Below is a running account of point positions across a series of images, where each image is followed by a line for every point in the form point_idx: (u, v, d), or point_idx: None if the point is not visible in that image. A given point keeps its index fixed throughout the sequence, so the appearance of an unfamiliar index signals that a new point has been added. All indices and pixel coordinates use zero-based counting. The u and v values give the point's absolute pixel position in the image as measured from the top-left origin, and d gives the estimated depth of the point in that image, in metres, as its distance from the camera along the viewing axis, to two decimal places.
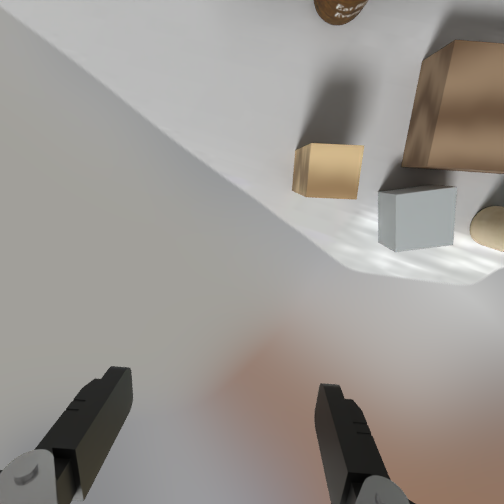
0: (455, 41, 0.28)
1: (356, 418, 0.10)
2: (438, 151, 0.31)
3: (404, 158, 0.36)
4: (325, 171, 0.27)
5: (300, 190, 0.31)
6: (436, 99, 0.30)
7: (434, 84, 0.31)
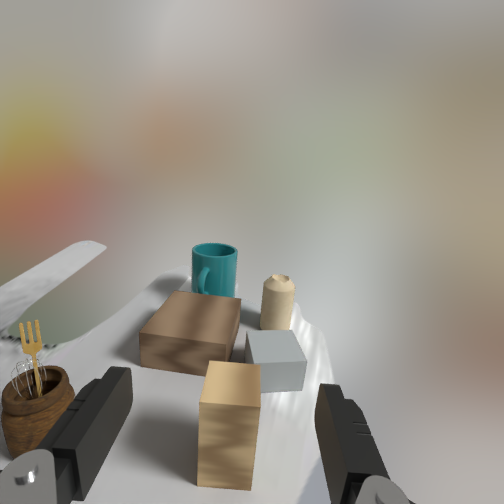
0: (140, 332, 0.38)
1: (356, 418, 0.10)
2: (216, 338, 0.38)
3: None
4: (231, 388, 0.25)
5: (252, 438, 0.24)
6: (175, 343, 0.38)
7: (163, 347, 0.39)
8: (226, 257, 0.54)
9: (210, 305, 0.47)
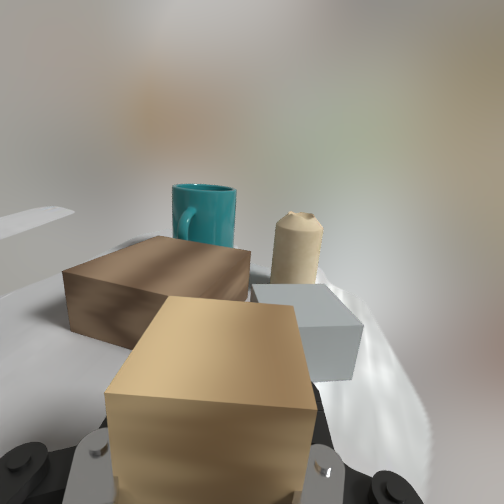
0: (64, 271, 0.23)
1: None
2: (181, 291, 0.21)
3: None
4: (220, 355, 0.08)
5: None
6: (114, 294, 0.22)
7: (98, 301, 0.23)
8: (220, 193, 0.37)
9: (199, 253, 0.30)
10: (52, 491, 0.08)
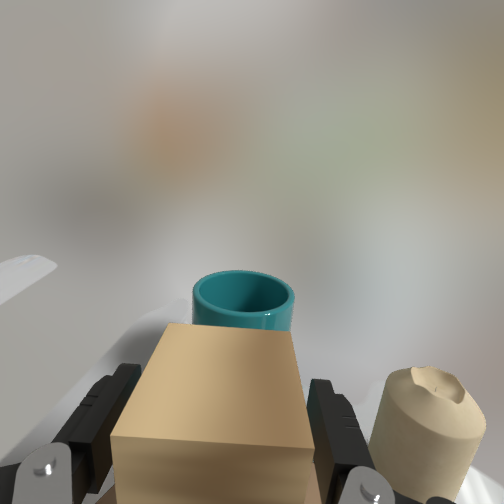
0: None
1: (345, 412, 0.11)
2: None
3: None
4: (220, 389, 0.09)
5: None
6: None
7: None
8: (276, 313, 0.22)
9: None
10: None
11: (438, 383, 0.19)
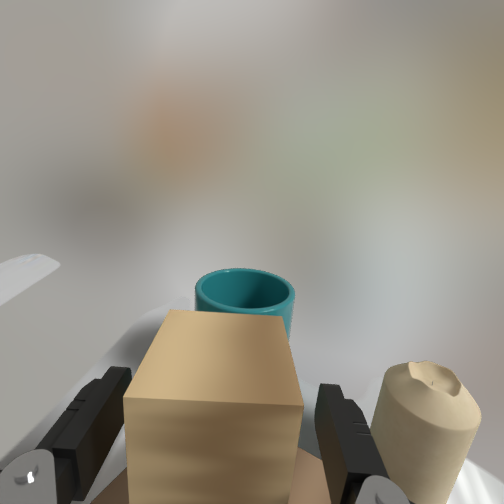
0: None
1: (356, 418, 0.10)
2: None
3: None
4: (219, 362, 0.09)
5: (276, 494, 0.09)
6: None
7: None
8: (277, 310, 0.23)
9: None
10: None
11: (435, 377, 0.19)
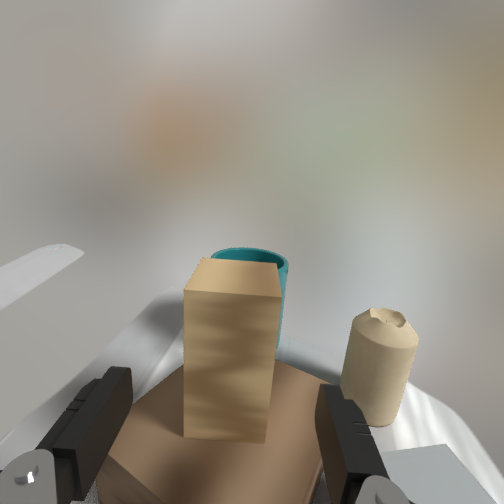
0: None
1: (356, 418, 0.10)
2: None
3: None
4: (235, 280, 0.16)
5: (267, 354, 0.15)
6: (149, 501, 0.15)
7: (130, 495, 0.16)
8: None
9: (271, 391, 0.21)
10: None
11: (389, 318, 0.26)
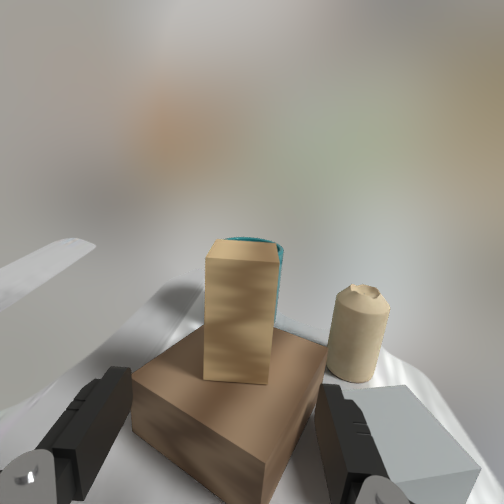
0: None
1: (356, 418, 0.10)
2: (250, 437, 0.18)
3: None
4: (243, 252, 0.21)
5: (269, 308, 0.20)
6: (177, 417, 0.20)
7: (160, 417, 0.21)
8: None
9: None
10: None
11: (367, 293, 0.31)
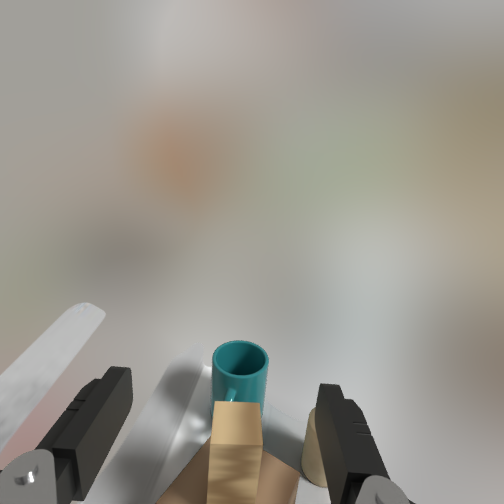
0: None
1: (356, 418, 0.10)
2: None
3: None
4: (237, 428, 0.28)
5: (255, 471, 0.28)
6: None
7: None
8: (257, 375, 0.42)
9: None
10: None
11: None
